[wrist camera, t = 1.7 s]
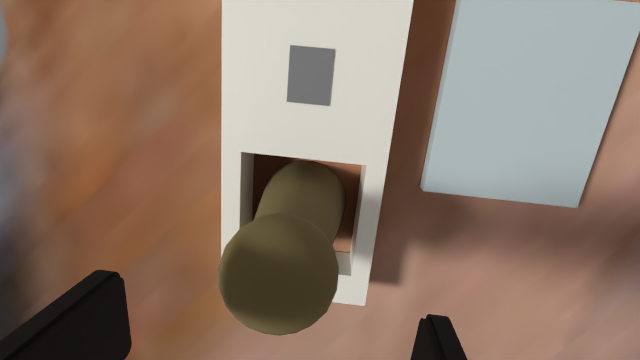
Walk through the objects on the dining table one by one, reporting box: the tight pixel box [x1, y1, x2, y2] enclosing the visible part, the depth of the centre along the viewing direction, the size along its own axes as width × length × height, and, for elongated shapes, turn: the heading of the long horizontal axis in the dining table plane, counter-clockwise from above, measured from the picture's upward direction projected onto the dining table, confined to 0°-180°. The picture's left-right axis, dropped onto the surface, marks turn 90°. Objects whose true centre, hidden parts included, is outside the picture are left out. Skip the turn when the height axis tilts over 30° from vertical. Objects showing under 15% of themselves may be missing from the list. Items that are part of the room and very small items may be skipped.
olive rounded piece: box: [218, 160, 346, 335], centre depth 17 cm, size 6×6×11 cm
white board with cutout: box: [221, 0, 414, 306], centre depth 19 cm, size 24×10×3 cm, turn 175°
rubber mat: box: [420, 0, 640, 208], centre depth 19 cm, size 12×10×1 cm
